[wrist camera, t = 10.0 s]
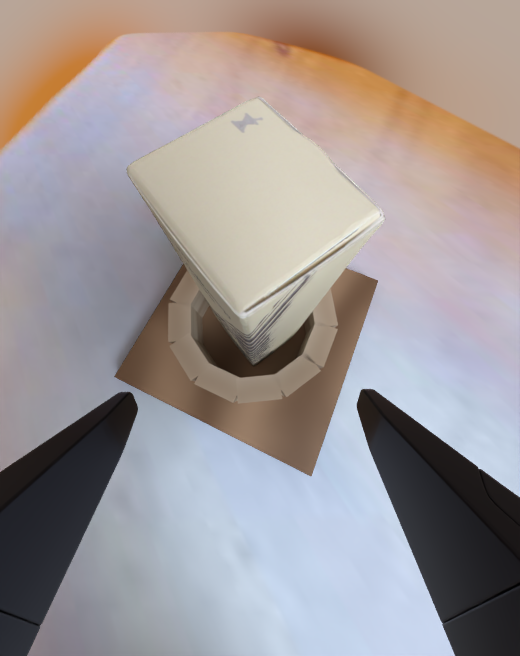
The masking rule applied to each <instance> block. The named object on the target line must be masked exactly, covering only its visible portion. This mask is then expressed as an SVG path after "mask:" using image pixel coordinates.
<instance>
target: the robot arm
mask: <svg viewBox="0 0 520 656" xmlns="http://www.w3.org/2000/svg"><path fill="white" fill-rule="evenodd" d="M357 410H358V413H359V417H360V420H361V423H362V427H363V430H364V433H365V437H366V440H367V443H368V446H369V449H370V452H371V454H372V457H373V459H374V462H375V464H376V466H377V469H378V471H379V474H380V476H381V478H382V481H383V483H384V486H385V488H386V490H387V493H388V495H389V498H390V500H391V502H392V505H393V507H394V510H395V512H396V514H397V517H398V519H399V522H400V524H401V526H402V529H403V531H404V534H405V536H406V538H407V541H408V543H409V546H410V548H411V550H412V553H413V555H414V558H415V560H416V562H417V565H418V567H419V569H420V572H421V574H422V577H423V579H424V581H425V584H426V586H427V589H428V591H429V593H430V596H431V598H432V601H433V603H434V605H435V608H436V610H437V613H438V615H439V617H440V620H441V622H442V623H443V624H442V625H443V628H444V630H445V632H446V635H447V637H448V640H449V642H450V644H451V647H452V649H453V652H454V654H455V656H520V497H518V496H517V495H516V494H514V493H513V492H511V491H510V490H509V489H507V488H506V487H505V486H503V485H502V484H500V483H499V482H498V481H496V480H495V479H494V478H492V477H491V476H490V475H488V474H487V473H485V472H484V471H483V470H481V469H478V467H477V466H476V465H475V464H473V463H472V462H471V461H469V460H468V459H467V458H465V457H464V456H462V455H461V454H460V453H458V452H457V451H456V450H454V449H453V448H452V447H450V446H449V445H448V444H446V443H445V442H444V441H442V440H441V439H440V438H438V437H437V436H436V435H434V434H433V433H432V432H430V431H429V430H427V429H426V428H425V427H423V426H422V425H421V424H419V423H418V422H417V421H415V420H414V419H413V418H411V417H410V416H409V415H407V414H406V413H405V412H403V411H402V410H401V409H399V408H398V407H397V406H395V405H394V404H392V403H391V402H390V401H388V400H387V399H386V398H384V397H383V396H382V395H380V394H379V393H378V392H376V391H375V390H373V389H362V390H361V392H360V395H359V399H358V402H357ZM137 411H138V406H137V404H136V401H135V399H134V396H133V394H132V393H131V392H120V393H118V394H116V395H115V396H113V397H112V398H110V399H109V400H107V401H106V402H104V403H103V404H101V405H100V406H98V407H97V408H95V409H94V410H92V411H91V412H89V413H88V414H86V415H85V416H83V417H82V418H80V419H79V420H77V421H76V422H74V423H73V424H71V425H70V426H68V427H67V428H65V429H64V430H62V431H61V432H59V433H58V434H56V435H55V436H53V437H52V438H50V439H49V440H47V441H46V442H44V443H43V444H41V445H40V446H38V447H37V448H35V449H34V450H32V451H31V452H29V453H28V454H26V455H25V456H23V457H22V458H20V459H19V460H17V461H16V462H14V463H13V464H11V465H10V466H8V467H7V468H5V469H4V470H2V471H1V472H0V656H27V654H28V652H29V650H30V648H31V646H32V644H33V642H34V640H35V637H36V635H37V633H38V631H39V629H40V625H41V624H42V622H43V620H44V618H45V616H46V614H47V612H48V610H49V607H50V605H51V603H52V601H53V599H54V597H55V595H56V593H57V590H58V588H59V586H60V584H61V582H62V580H63V578H64V576H65V574H66V571H67V569H68V567H69V565H70V563H71V561H72V559H73V557H74V555H75V552H76V550H77V548H78V546H79V544H80V542H81V540H82V538H83V535H84V533H85V531H86V529H87V527H88V525H89V523H90V521H91V519H92V516H93V514H94V512H95V510H96V508H97V506H98V504H99V502H100V500H101V497H102V495H103V493H104V491H105V489H106V487H107V485H108V483H109V481H110V478H111V476H112V474H113V472H114V470H115V468H116V466H117V464H118V461H119V459H120V457H121V455H122V453H123V450H124V448H125V445H126V442H127V440H128V437H129V434H130V431H131V429H132V426H133V423H134V420H135V418H136V415H137Z"/></svg>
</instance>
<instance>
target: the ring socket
mask: <svg viewBox="0 0 520 656" xmlns="http://www.w3.org/2000/svg"><path fill="white" fill-rule="evenodd" d="M377 283H378V280H375V279H373V278H370V277H367V276H365V275H362V274H359V273H357V272H354V271H352V270H349V269H346V268H345V270H344V271H343V272H342V274H341V275H340V276H339V278H338V279H337V280H336V281H335V283H334V284H333V285H332V287H331V288H330V289H329V291H328V292H327V293H326V295H325V296H324V297H323V298H322V300H321V301H320V302H319V304H318V305H317V306H316V307H315V309H314V310H313V311H312V313H311V314H310V315H309V317H308V318H307V319H306V320H305V322H304V323H303V324H302V326H301V327H300V328H299V330H298V331H297V332H296V334H295V335H294V336H293V337H292V338H291V339H290V340H288V341H287V342H286V343H285V344H284V345H282V346H281V347H280V348H279V349H277V350H276V351H275V352H273V353H272V354H271V355H269V356H268V357H267V358H265V359H264V360H263V361H261V362H260V363H258V364H257V365H256V366H252V365H251V364H250V362H249V361H248V360H247V358H246V357H245V356H244V355H243V353H242V352H241V351H240V350H239V348H238V347H237V346H236V344H235V343H234V342H233V340H232V339H231V337H230V336H229V335H228V333H227V332H226V330H225V329H224V328H223V326H222V325H221V323H220V322H219V320H218V319H217V317H216V316H215V314H214V312H213V311H212V309H211V308H210V306H209V304H208V303H207V301H206V299H205V298H204V296H203V294H202V293H201V291H200V290H199V288H198V286H197V285H196V283H195V281H194V280H193V278H192V277H191V275H190V273H189V272H188V270H187V268H186V267H185V265H184V264H183V265H182V267H181V269H180V270H179V272H178V273H177V275H176V277H175V278H174V280H173V282H172V283H171V285H170V287H169V288H168V290H167V291H166V293H165V295H164V296H163V298H162V300H161V301H160V303H159V305H158V306H157V308H156V309H155V311H154V313H153V314H152V316H151V318H150V319H149V321H148V322H147V324H146V326H145V327H144V329H143V331H142V332H141V334H140V336H139V337H138V339H137V340H136V342H135V344H134V345H133V347H132V349H131V350H130V352H129V354H128V355H127V357H126V358H125V360H124V362H123V363H122V365H121V367H120V368H119V370H118V372H117V373H116V375H115V376H114V377H116V378H118V379H120V380H122V381H124V382H125V383H127V384H129V385H131V386H133V387H135V388H137V389H139V390H141V391H143V392H145V393H147V394H149V395H151V396H153V397H155V398H157V399H159V400H161V401H163V402H165V403H167V404H169V405H171V406H173V407H175V408H177V409H179V410H181V411H183V412H185V413H187V414H189V415H191V416H193V417H195V418H197V419H199V420H201V421H203V422H205V423H207V424H209V425H210V426H212V427H214V428H216V429H218V430H220V431H222V432H224V433H226V434H228V435H230V436H232V437H234V438H236V439H238V440H240V441H242V442H244V443H246V444H248V445H250V446H252V447H254V448H256V449H258V450H260V451H262V452H264V453H266V454H268V455H270V456H272V457H274V458H276V459H278V460H280V461H282V462H284V463H286V464H288V465H290V466H292V467H294V468H295V469H297V470H299V471H301V472H303V473H305V474H307V475H309V476H312V473H313V470H314V467H315V464H316V461H317V458H318V455H319V452H320V450H321V447H322V444H323V441H324V438H325V435H326V432H327V429H328V426H329V423H330V420H331V417H332V414H333V411H334V409H335V406H336V403H337V400H338V397H339V394H340V391H341V388H342V385H343V382H344V379H345V376H346V373H347V370H348V368H349V365H350V362H351V359H352V356H353V353H354V350H355V347H356V344H357V341H358V338H359V335H360V332H361V329H362V327H363V324H364V321H365V318H366V315H367V312H368V309H369V306H370V303H371V300H372V297H373V294H374V291H375V288H376V286H377Z"/></svg>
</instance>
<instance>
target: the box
mask: <svg viewBox="0 0 520 656" xmlns="http://www.w3.org/2000/svg"><path fill="white" fill-rule="evenodd" d="M127 173H128V176H129V177H130V179H131V181H132V182H133V184H134V185H135V187H136V189H137V190H138V192H139V193H140V195H141V196H142V198H143V199H144V201H145V202H146V204H147V206H148V207H149V209H150V210H151V212H152V213H153V215H154V217H155V218H156V220H157V221H158V223H159V225H160V226H161V228H162V229H163V231H164V233H165V234H166V236H167V237H168V239H169V241H170V242H171V244H172V246H173V247H174V249H175V250H176V252H177V254H178V255H179V257H180V259H181V260H182V262H183V263H184V265H185V267H186V268H187V270H188V272H189V273H190V275H191V277H192V278H193V280H194V281H195V283H196V285H197V286H198V288H199V290H200V291H201V293H202V294H203V296H204V298H205V299H206V301H207V303H208V304H209V306H210V308H211V309H212V311H213V312H214V314H215V316H216V317H217V319H218V320H219V322H220V323H221V325H222V326H223V328H224V329H225V330H226V332H227V333H228V335H229V336H230V337H231V339H232V340H233V342H234V343H235V344H236V346H237V347H238V348H239V350H240V351H241V352H242V353H243V355H244V356H245V357H246V358H247V360H248V361H249V362H250V364H251V365H252V366H256V365H257V364H258V363H260V362H261V361H263V360H264V359H265V358H267V357H268V356H269V355H271V354H272V353H273V352H275V351H276V350H277V349H279V348H280V347H281V346H282V345H284V344H285V343H286V342H287V341H288V340H290V339H291V338H292V337H293V336H294V335H295V334H296V332H297V331H298V330H299V328H300V327H301V326H302V324H303V323H304V322H305V320H306V319H307V318H308V317H309V315H310V314H311V313H312V311H313V310H314V309H315V307H316V306H317V305H318V304H319V302H320V301H321V300H322V298H323V297H324V296H325V295H326V293H327V292H328V291H329V289H330V288H331V287H332V285H333V284H334V283H335V281H336V280H337V279H338V278H339V276H340V275H341V274H342V272H343V271H344V270H345V268H346V267H347V266H348V265H349V263H350V262H351V261H352V260H353V258H354V257H355V256H356V254H357V253H358V252H359V251H360V249H361V248H362V247H363V246H364V245H365V243H366V242H367V241H368V240H369V239H370V237H371V236H372V235H373V234H374V233H375V232H376V230H377V229H378V228H379V227H380V226H381V225H382V223H383V222H384V220H385V217H384V213H383V211H382V209H381V208H380V207H379V206H378V205H377V204H376V203H375V202H374V201H373V200H372V199H371V198H370V197H369V196H368V195H367V194H366V193H365V192H364V191H363V190H362V189H361V188H360V187H359V186H358V185H357V184H356V183H355V182H354V181H353V180H352V179H351V178H350V177H349V176H347V175H346V174H345V173H344V172H343V171H342V170H341V169H340V168H339V167H338V166H337V165H335V164H334V163H333V162H332V160H331V159H330V158H329V157H328V155H327V154H326V153H325V152H324V151H323V150H322V149H321V148H320V147H319V146H318V145H317V144H315V143H314V142H313V141H311V140H310V139H309V138H307V137H305V136H304V135H303V134H301V133H300V132H299V131H298V130H297V129H296V128H295V127H294V126H293V125H292V124H291V123H289V122H288V121H287V120H286V119H285V118H284V117H283V116H282V115H281V114H279V113H278V112H277V111H276V110H275V109H274V108H273V107H271V106H270V105H269V104H268V103H267V102H266V101H265V100H264V99H263V98H262V97H256V98H254V99H251V100H248V101H246V102H244V103H242V104H240V105H238V106H236V107H235V108H234V109H231V110H229V111H227V112H225V113H223V114H222V115H220V116H218V117H216V118H214V119H212V120H211V121H209V122H207V123H205V124H203V125H201V126H199V127H197V128H195V129H194V130H192V131H190V132H189V133H187V134H185V135H183V136H181V137H179V138H177V139H176V140H174V141H172V142H170V143H168V144H166V145H164V146H162V147H160V148H159V149H157V150H155V151H153V152H151V153H149V154H147V155H145V156H143V157H142V158H140V159H138V160H136V161H134V162H133V163H131V164H130V165H129V166H128V167H127Z"/></svg>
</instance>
